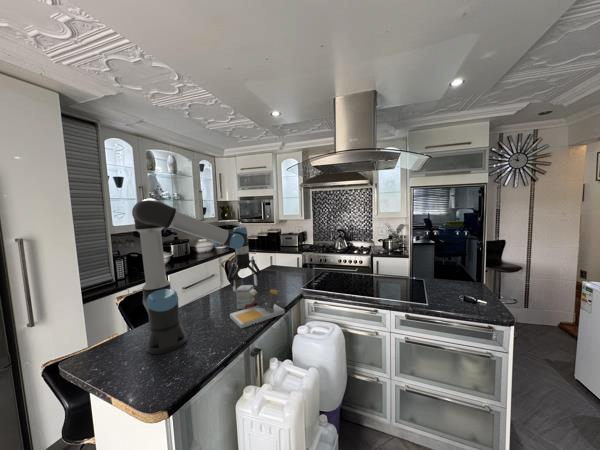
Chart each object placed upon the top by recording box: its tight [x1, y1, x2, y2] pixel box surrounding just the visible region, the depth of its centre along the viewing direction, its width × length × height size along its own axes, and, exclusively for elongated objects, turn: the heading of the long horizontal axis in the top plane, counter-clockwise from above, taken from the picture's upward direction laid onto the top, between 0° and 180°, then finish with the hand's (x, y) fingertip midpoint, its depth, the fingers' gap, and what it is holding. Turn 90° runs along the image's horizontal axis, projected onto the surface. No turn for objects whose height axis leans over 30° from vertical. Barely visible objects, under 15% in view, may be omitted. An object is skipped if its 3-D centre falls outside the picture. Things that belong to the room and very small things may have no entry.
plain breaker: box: [250, 288, 265, 306], centre depth 139 cm, size 3×4×11 cm
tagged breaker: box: [266, 288, 278, 310], centre depth 134 cm, size 3×4×11 cm, turn 35°
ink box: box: [235, 284, 256, 310], centre depth 146 cm, size 9×9×12 cm
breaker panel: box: [229, 302, 286, 329], centre depth 133 cm, size 25×16×4 cm, turn 125°
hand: (245, 288), depth 146 cm, fingers open, 13 cm apart
